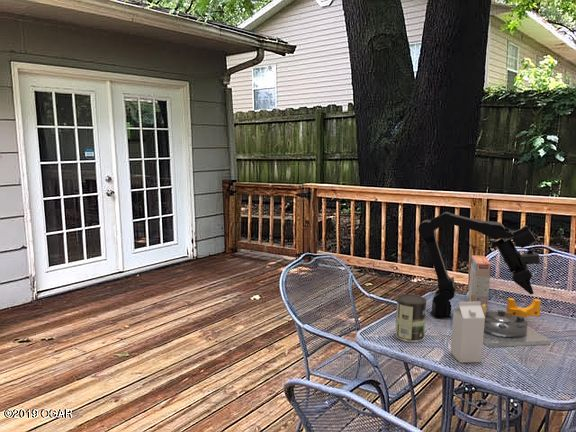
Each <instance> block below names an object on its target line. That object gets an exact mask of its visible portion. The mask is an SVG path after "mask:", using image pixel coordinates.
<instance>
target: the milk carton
mask: <svg viewBox="0 0 576 432" xmlns="http://www.w3.org/2000/svg"><path fill="white" fill-rule="evenodd" d="M452 318H453V319H452V328H451V329H452V331H451V343H450V353H451V355H452V356H454V358H455V359H456V360H457V361H458V362H459V363H482V358H483V357H482V355H483V347H484V344H483V335H484V323H485V316H484V313H483V311H482V308H481V302H468V301H458V306H456V307H455V308H454V309H453V314H452Z"/></svg>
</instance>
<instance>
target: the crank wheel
mask: <svg viewBox="0 0 576 432" xmlns="http://www.w3.org/2000/svg"><path fill="white" fill-rule="evenodd" d="M481 308H482V311H483V313H484V316H485V323H484V332H487V333H489V334H493V335H497V336H502V337H521V336H524V335H526V333H527V326H529V325H528V324H529V323H528V321H527V320H526V317H522V316H515V315H512V314H508V313H506V311H504V309H502V310H501V309H499V310H498V309H497V311H487V312H486V309H487V310H488V303H487V304H481Z"/></svg>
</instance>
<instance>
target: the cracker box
mask: <svg viewBox="0 0 576 432" xmlns="http://www.w3.org/2000/svg"><path fill="white" fill-rule="evenodd" d="M470 260H471V261H470V272H469V283H468V284H469V285H468V295H467V302H481V304H487V305H488V303H489V302H488V301H489V299H488V298H489V293H490V292H489V289H490V282H491V281H490V280H491V272H492V270H491V269H492V264H491V262H490V261H489V260H488V259H487V256H485V255H475V254H474V255H473V254H472V255H471V259H470ZM486 312H488V308H487V309H486Z"/></svg>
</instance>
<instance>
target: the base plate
mask: <svg viewBox="0 0 576 432" xmlns="http://www.w3.org/2000/svg"><path fill="white" fill-rule="evenodd" d="M483 345H484V346H486V347H487V348H501V347H502V348H503V347H522V346H523V347H524V346H541V345H542V346H544V345H546V346H547V345H551V339H549V338H548V337H546V336H545V335H543V334H541V333H540V332H539V331H537V330H535V329H534V328H532V327H530V326H529V325H528V326H527V333H526V335H524V336H521V337H502V336H497V335H493V334H489V333H487V332H484V335H483Z"/></svg>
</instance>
